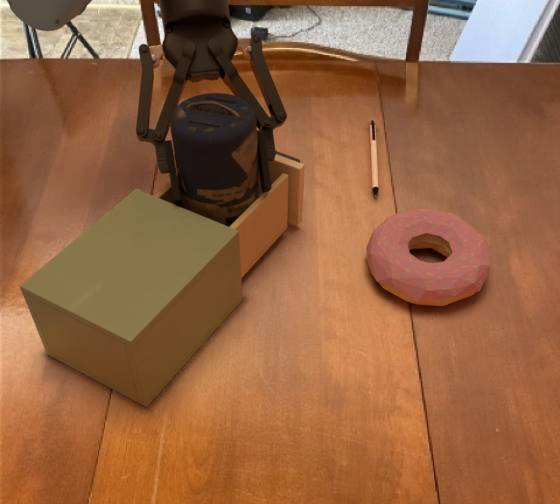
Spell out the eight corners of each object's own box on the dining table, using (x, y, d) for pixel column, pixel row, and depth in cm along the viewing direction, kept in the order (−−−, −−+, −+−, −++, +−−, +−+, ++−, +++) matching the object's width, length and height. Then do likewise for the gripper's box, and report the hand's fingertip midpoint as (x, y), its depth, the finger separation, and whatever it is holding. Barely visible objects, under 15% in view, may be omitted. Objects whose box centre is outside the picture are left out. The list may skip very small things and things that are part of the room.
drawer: (238, 173, 97) (235, 116, 90) (318, 204, 93) (322, 146, 86) (142, 263, 85) (130, 205, 78) (229, 302, 81) (225, 245, 74)
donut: (460, 331, 80) (470, 302, 76) (344, 286, 84) (347, 256, 81) (501, 254, 88) (511, 224, 84) (393, 217, 93) (398, 186, 89)
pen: (374, 123, 107) (375, 117, 106) (378, 199, 95) (379, 192, 94) (369, 123, 107) (370, 117, 106) (372, 199, 95) (373, 192, 94)
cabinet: (148, 258, 87) (135, 188, 79) (242, 300, 83) (239, 230, 74) (46, 354, 77) (19, 285, 69) (146, 407, 73) (130, 341, 64)
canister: (232, 269, 82) (223, 137, 68) (170, 242, 85) (148, 110, 71) (274, 226, 87) (273, 94, 73) (214, 201, 90) (202, 70, 76)
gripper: (285, -2, 80) (310, 189, 83) (93, 14, 77) (126, 212, 80) (296, -33, 73) (323, 178, 76) (85, -16, 70) (122, 203, 73)
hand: (222, 196), depth 78 cm, fingers open, 10 cm apart
